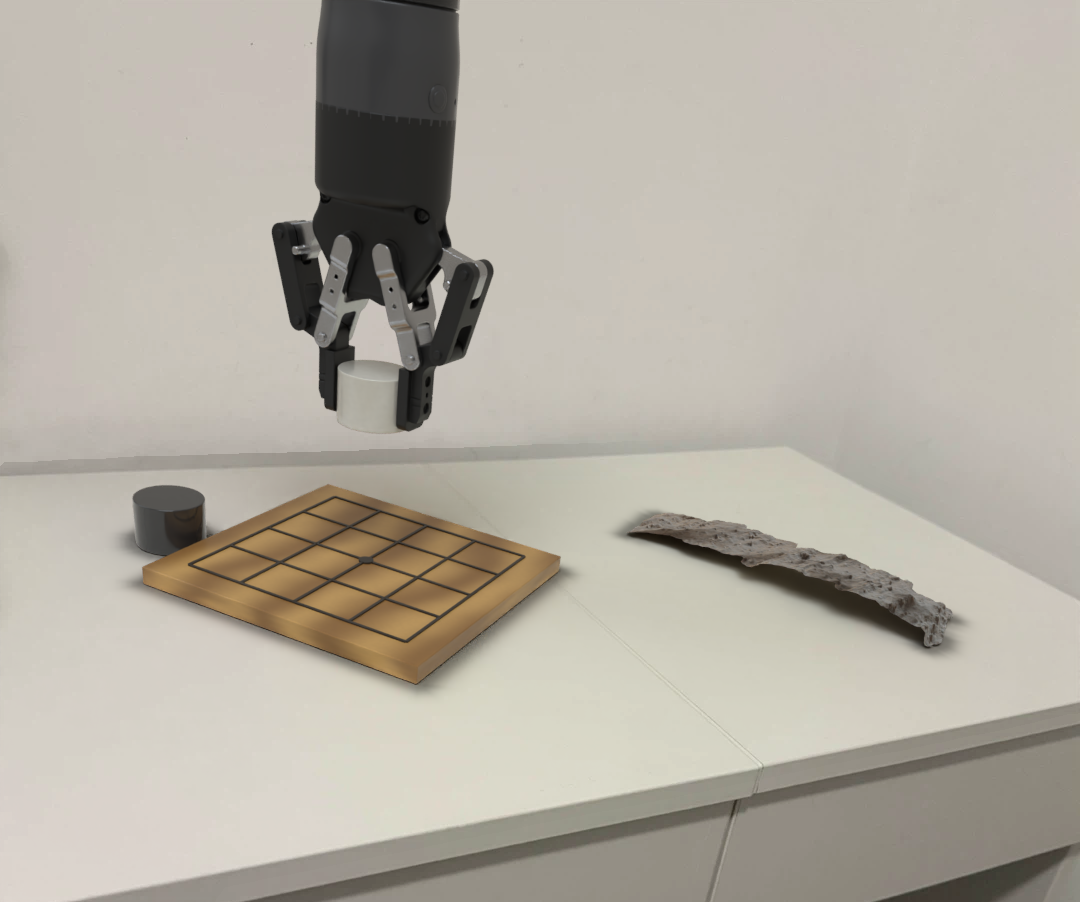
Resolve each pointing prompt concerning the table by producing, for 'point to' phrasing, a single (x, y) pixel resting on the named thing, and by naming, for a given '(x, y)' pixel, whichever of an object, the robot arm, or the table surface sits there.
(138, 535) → the black stone
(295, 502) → the board
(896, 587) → the stone fragment
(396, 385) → the pale stone
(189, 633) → the table surface
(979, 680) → the table surface
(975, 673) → the table surface
